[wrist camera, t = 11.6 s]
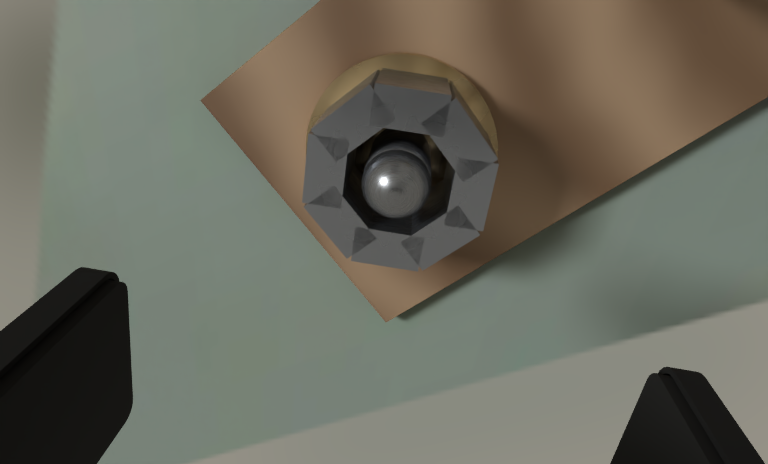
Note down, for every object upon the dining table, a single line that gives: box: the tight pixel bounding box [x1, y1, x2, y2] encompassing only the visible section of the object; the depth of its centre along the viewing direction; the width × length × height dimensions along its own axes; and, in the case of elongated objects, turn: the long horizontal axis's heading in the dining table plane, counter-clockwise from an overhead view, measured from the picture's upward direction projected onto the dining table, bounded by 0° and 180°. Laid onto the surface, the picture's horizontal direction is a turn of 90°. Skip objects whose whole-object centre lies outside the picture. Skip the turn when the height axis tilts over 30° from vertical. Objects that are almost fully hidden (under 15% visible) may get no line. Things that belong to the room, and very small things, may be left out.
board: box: [201, 0, 768, 322], centre depth 21 cm, size 26×14×6 cm, turn 126°
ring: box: [302, 68, 499, 272], centre depth 23 cm, size 7×7×4 cm
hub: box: [306, 52, 498, 219], centre depth 22 cm, size 8×8×6 cm
